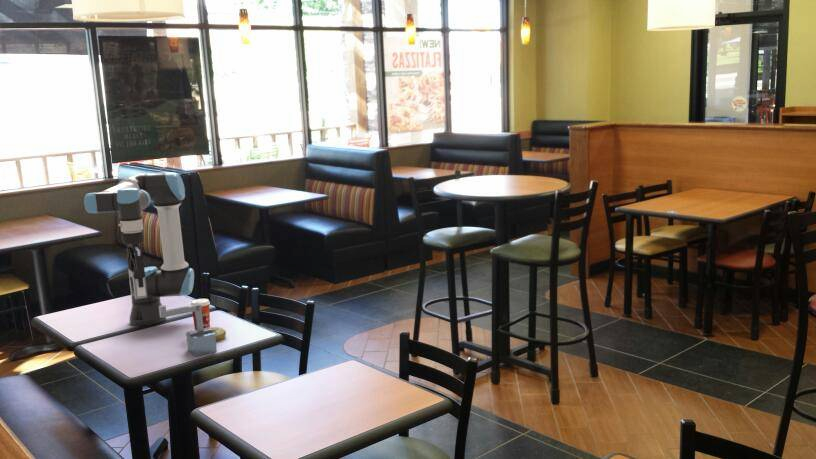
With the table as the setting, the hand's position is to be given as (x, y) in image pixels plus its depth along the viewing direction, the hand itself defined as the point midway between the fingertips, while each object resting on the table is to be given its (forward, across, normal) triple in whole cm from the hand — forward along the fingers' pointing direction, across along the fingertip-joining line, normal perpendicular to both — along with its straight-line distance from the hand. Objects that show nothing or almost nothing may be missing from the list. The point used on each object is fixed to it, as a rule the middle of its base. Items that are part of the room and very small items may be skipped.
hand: (138, 293), depth 267 cm
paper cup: (+26, -17, +27) cm, 41 cm away
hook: (+1, 0, 0) cm, 1 cm away
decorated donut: (+26, -9, +28) cm, 39 cm away
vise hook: (+25, +3, +15) cm, 30 cm away
